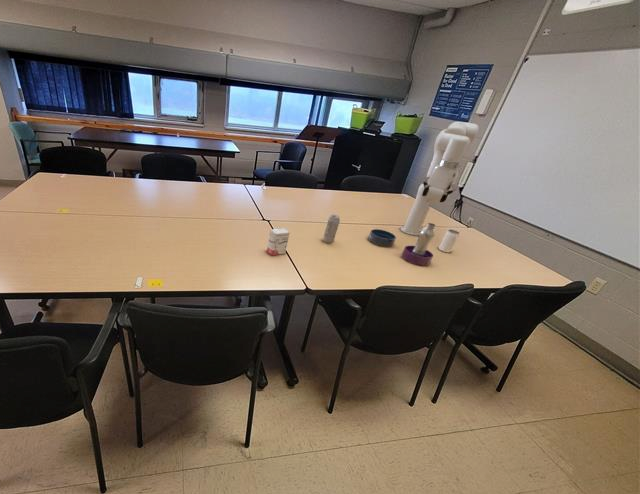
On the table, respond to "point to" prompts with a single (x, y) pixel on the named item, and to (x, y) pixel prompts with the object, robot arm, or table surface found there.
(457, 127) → the robot arm
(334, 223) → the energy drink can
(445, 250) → the can
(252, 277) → the table surface
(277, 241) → the ink box
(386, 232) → the blue bowl
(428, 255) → the plum bowl
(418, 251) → the silver metal bottle
